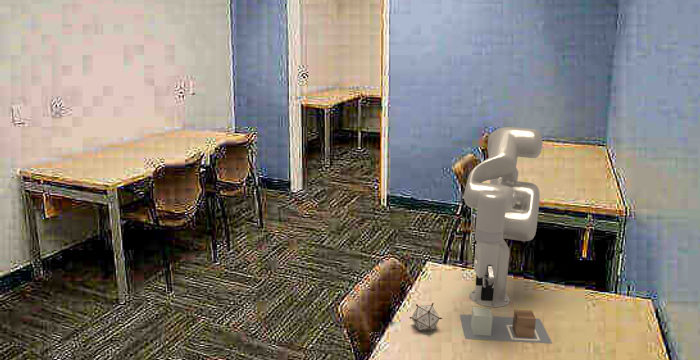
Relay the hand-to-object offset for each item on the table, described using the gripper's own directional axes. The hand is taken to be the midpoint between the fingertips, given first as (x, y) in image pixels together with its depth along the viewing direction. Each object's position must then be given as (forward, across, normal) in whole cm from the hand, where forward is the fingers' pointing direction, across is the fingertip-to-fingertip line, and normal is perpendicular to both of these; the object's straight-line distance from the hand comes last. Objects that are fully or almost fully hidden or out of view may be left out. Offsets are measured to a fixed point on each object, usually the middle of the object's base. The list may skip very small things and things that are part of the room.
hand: (483, 292), depth 162 cm
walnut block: (+12, -1, +12) cm, 17 cm away
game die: (+14, -1, -16) cm, 21 cm away
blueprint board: (+13, -3, +7) cm, 15 cm away
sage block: (+12, -1, 0) cm, 12 cm away
